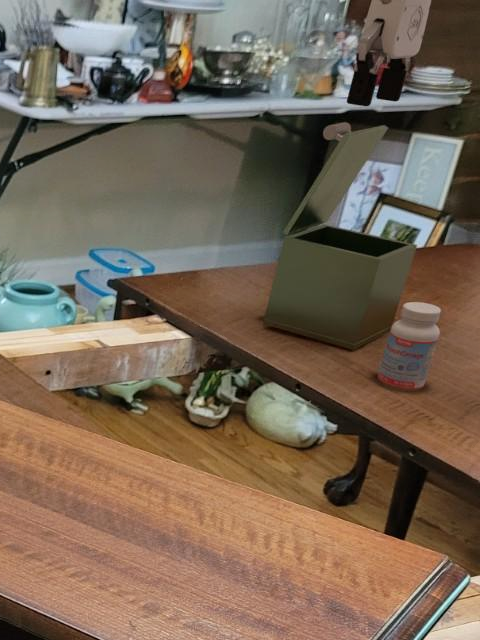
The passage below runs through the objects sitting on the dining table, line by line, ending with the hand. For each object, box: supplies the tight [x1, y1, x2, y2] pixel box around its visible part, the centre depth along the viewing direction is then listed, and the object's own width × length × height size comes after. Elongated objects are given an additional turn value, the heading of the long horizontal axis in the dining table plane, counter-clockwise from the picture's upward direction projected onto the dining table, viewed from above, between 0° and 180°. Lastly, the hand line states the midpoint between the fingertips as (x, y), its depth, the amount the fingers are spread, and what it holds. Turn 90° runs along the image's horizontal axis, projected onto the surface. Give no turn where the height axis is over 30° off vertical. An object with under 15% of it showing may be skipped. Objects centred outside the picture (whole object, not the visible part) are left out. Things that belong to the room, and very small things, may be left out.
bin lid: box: [282, 121, 389, 236], centre depth 164 cm, size 16×14×5 cm
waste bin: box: [262, 223, 418, 351], centre depth 168 cm, size 15×14×13 cm
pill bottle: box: [377, 301, 442, 390], centre depth 148 cm, size 6×6×11 cm
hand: (372, 102), depth 154 cm, fingers open, 9 cm apart
